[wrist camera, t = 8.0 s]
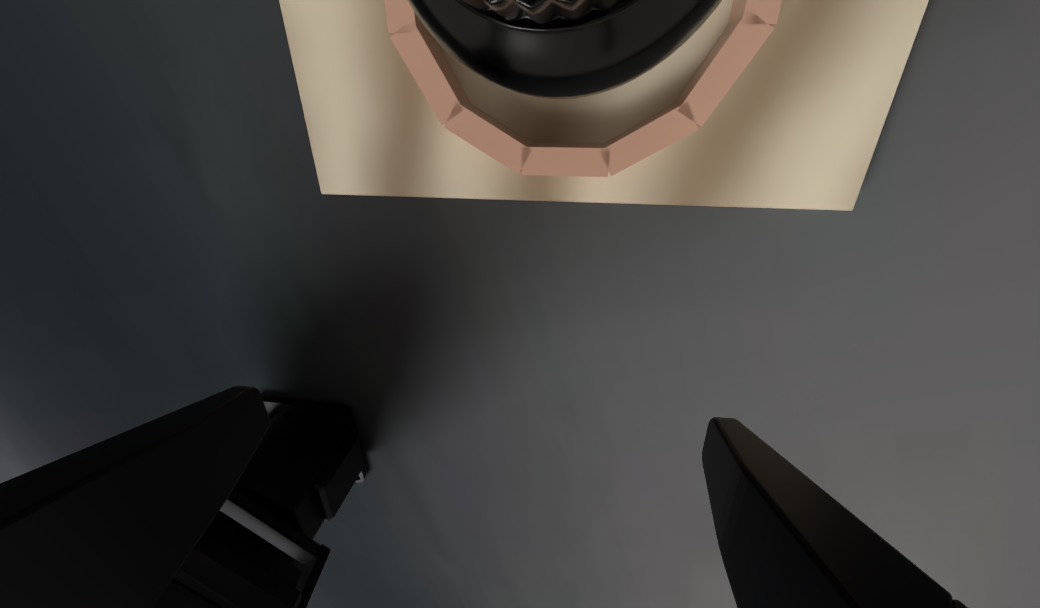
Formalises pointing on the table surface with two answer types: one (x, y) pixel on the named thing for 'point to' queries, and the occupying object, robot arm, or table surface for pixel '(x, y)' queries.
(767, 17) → the ring collar
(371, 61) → the birch board
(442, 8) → the supplement bottle
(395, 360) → the table surface
